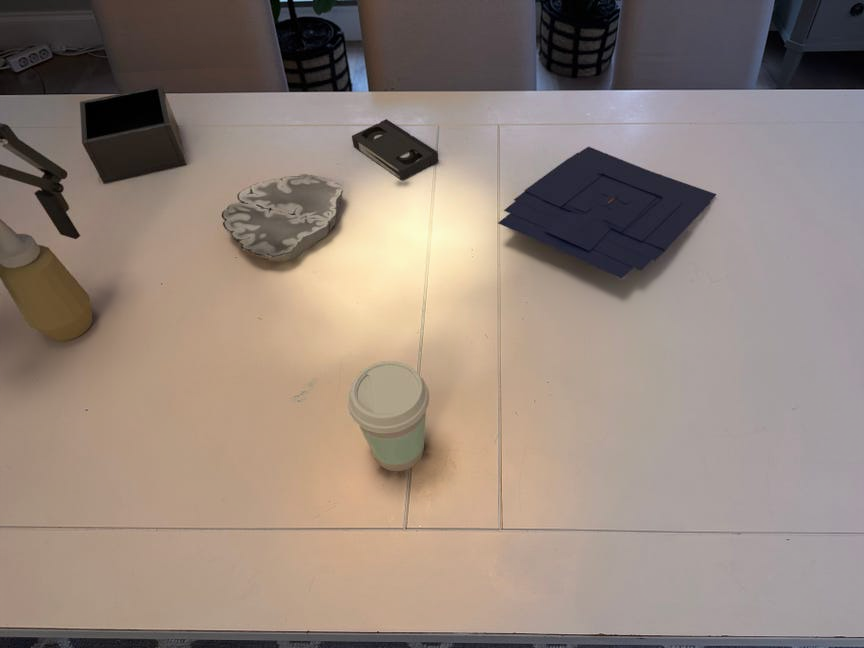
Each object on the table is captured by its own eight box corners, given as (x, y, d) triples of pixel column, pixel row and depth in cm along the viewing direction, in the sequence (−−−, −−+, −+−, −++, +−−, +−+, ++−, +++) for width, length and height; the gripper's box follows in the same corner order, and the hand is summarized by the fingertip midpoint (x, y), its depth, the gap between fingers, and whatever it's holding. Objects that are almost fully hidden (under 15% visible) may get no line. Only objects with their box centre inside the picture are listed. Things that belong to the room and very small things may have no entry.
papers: (485, 234, 101) (487, 213, 99) (584, 160, 119) (587, 141, 117) (630, 300, 92) (635, 279, 89) (713, 209, 110) (720, 189, 107)
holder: (103, 183, 113) (81, 142, 107) (100, 142, 121) (79, 101, 115) (186, 165, 116) (169, 124, 110) (177, 125, 124) (161, 85, 118)
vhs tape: (352, 146, 119) (350, 136, 118) (387, 129, 122) (386, 118, 121) (402, 181, 112) (401, 170, 111) (438, 161, 116) (437, 151, 114)
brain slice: (269, 180, 113) (264, 165, 111) (360, 200, 109) (358, 184, 107) (201, 254, 101) (195, 239, 99) (301, 279, 97) (296, 264, 95)
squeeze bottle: (114, 319, 93) (47, 215, 79) (62, 357, 89) (-18, 253, 75) (78, 296, 96) (8, 192, 82) (26, 332, 92) (-57, 228, 78)
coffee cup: (382, 411, 82) (368, 347, 73) (446, 432, 80) (440, 369, 71) (349, 468, 77) (329, 407, 68) (416, 492, 75) (406, 433, 66)
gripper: (-178, 188, 59) (-32, 346, 76) (40, 60, 74) (123, 216, 90) (-232, 171, 61) (-79, 328, 78) (-10, 49, 76) (80, 203, 92)
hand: (30, 268), depth 84 cm, fingers open, 13 cm apart
